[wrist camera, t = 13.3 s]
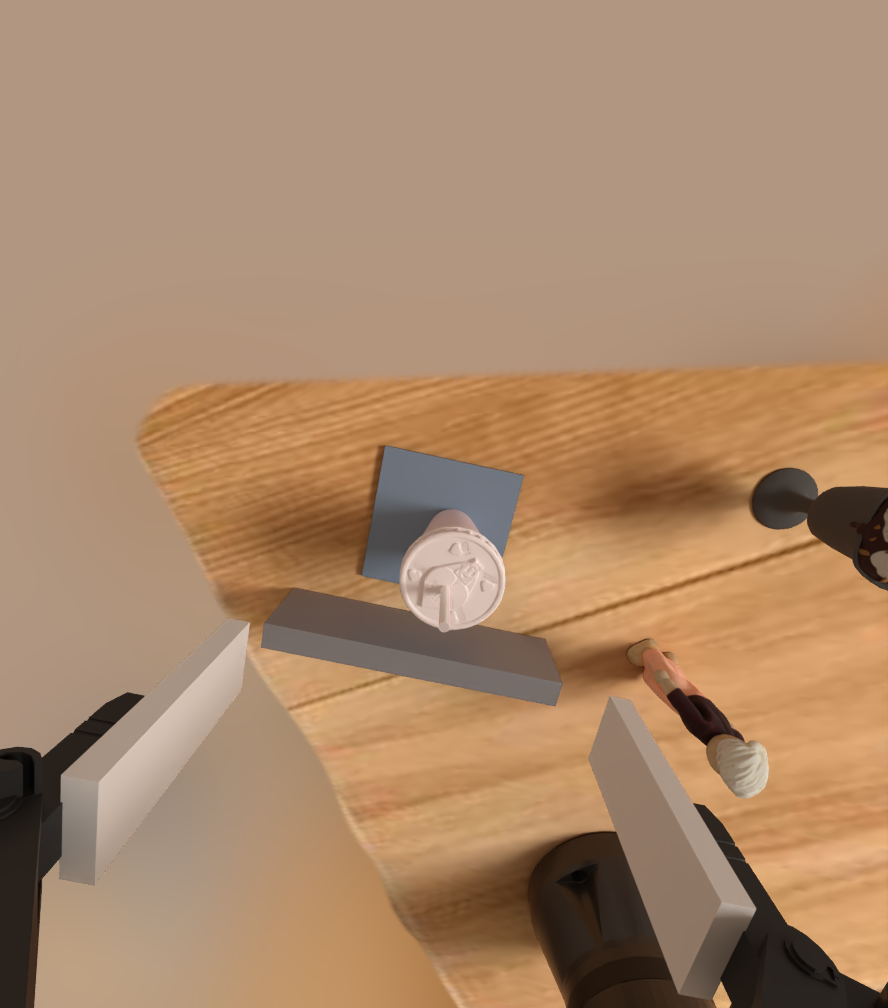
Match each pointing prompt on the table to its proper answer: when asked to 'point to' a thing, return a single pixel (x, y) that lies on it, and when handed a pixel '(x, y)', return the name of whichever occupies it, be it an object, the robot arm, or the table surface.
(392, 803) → the table surface
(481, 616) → the smoothie
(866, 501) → the sundae
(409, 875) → the table surface
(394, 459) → the mat
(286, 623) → the divider wall
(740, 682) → the table surface
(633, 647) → the grandmother figurine
